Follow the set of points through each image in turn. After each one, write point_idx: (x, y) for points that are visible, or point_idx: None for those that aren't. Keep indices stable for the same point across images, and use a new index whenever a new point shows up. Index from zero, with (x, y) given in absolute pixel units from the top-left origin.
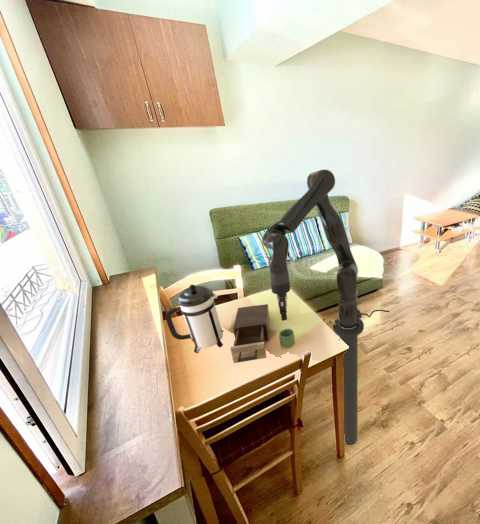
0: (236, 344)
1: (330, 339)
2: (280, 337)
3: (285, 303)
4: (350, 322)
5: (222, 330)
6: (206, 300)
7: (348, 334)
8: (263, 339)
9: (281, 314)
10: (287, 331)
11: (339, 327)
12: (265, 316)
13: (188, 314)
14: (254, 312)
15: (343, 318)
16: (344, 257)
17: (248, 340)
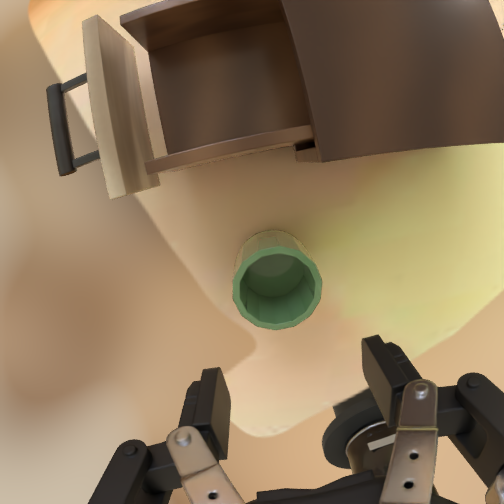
0: (138, 25)
1: (300, 411)
2: (245, 257)
3: (395, 423)
4: (352, 470)
5: None
6: None
7: (324, 445)
8: (209, 160)
9: (195, 416)
10: (311, 282)
11: (368, 421)
12: (415, 138)
13: None
14: (455, 57)
15: (364, 467)
16: None
17: (272, 57)
